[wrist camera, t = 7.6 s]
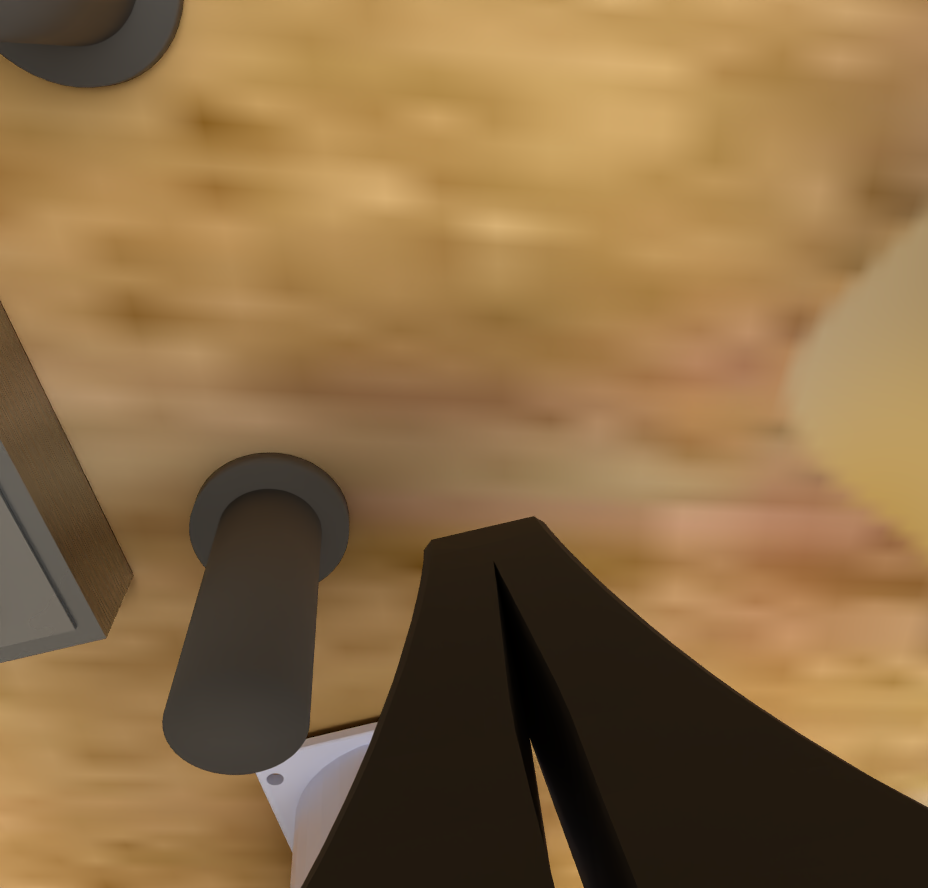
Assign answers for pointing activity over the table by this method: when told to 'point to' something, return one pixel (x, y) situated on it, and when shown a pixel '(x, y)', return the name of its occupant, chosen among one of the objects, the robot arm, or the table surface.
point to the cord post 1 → (87, 38)
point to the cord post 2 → (254, 612)
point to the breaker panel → (48, 525)
